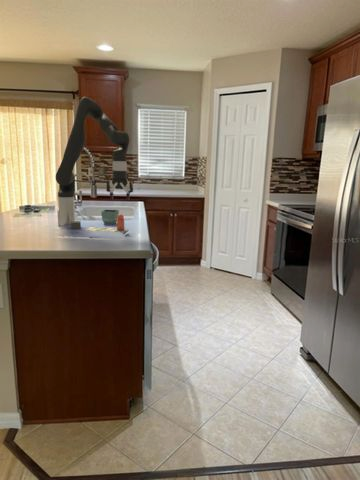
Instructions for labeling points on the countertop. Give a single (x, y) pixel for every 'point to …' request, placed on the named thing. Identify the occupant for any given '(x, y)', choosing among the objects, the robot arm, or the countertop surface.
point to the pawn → (120, 222)
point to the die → (75, 224)
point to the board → (105, 229)
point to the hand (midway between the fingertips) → (119, 199)
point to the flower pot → (109, 216)
